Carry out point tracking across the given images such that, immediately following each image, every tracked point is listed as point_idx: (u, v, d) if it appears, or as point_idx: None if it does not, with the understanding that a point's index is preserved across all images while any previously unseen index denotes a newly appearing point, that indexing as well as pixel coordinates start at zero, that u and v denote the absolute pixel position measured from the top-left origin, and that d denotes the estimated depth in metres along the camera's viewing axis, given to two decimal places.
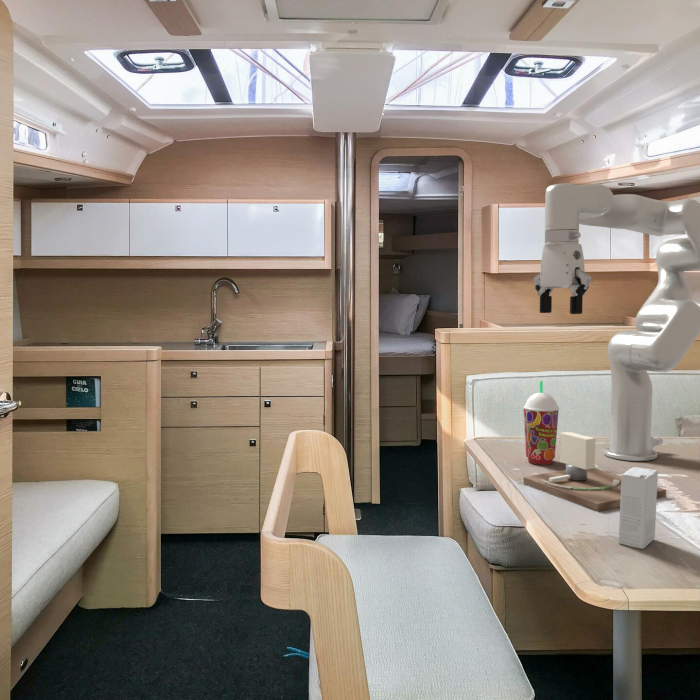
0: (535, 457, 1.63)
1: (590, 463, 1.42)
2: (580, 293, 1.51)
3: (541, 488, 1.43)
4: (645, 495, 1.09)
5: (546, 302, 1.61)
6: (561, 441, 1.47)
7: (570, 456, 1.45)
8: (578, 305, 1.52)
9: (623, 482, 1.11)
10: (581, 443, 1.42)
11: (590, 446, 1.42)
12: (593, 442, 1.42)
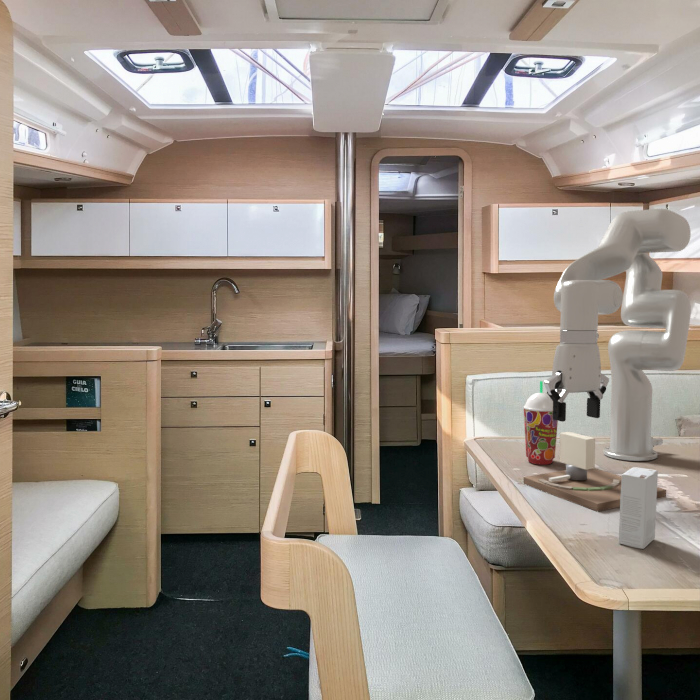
0: (535, 457, 1.63)
1: (590, 463, 1.42)
2: None
3: (541, 488, 1.43)
4: (645, 495, 1.09)
5: None
6: (561, 441, 1.47)
7: (570, 456, 1.45)
8: None
9: (623, 482, 1.11)
10: (581, 443, 1.42)
11: (590, 446, 1.42)
12: (593, 442, 1.42)
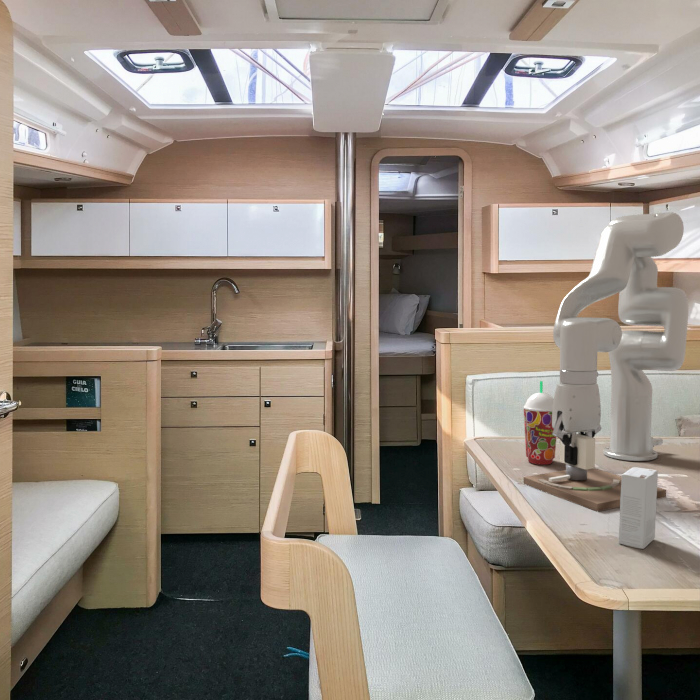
0: (535, 457, 1.63)
1: (590, 463, 1.42)
2: None
3: (541, 488, 1.43)
4: (645, 495, 1.09)
5: None
6: (561, 441, 1.47)
7: None
8: None
9: (623, 482, 1.11)
10: (581, 443, 1.42)
11: (590, 446, 1.42)
12: (593, 442, 1.42)
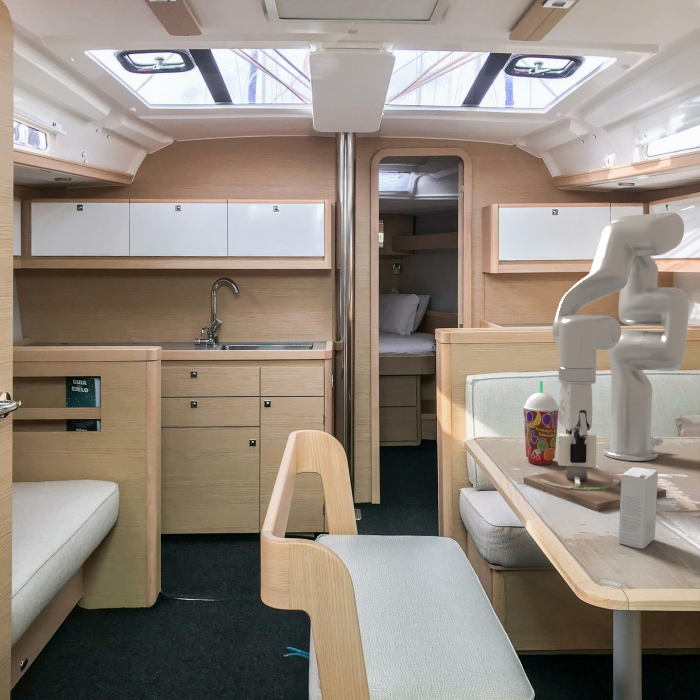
0: (535, 457, 1.63)
1: None
2: None
3: (541, 488, 1.43)
4: (645, 495, 1.09)
5: None
6: (561, 444, 1.45)
7: None
8: None
9: (623, 482, 1.11)
10: (590, 442, 1.43)
11: None
12: None
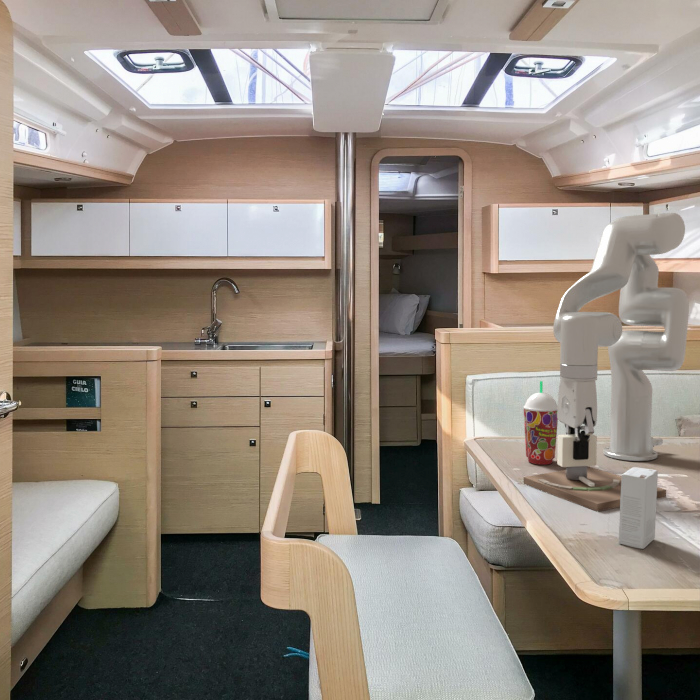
0: (535, 457, 1.63)
1: None
2: None
3: (541, 488, 1.43)
4: (645, 495, 1.09)
5: None
6: (565, 445, 1.43)
7: None
8: None
9: (623, 482, 1.11)
10: (591, 441, 1.44)
11: None
12: None
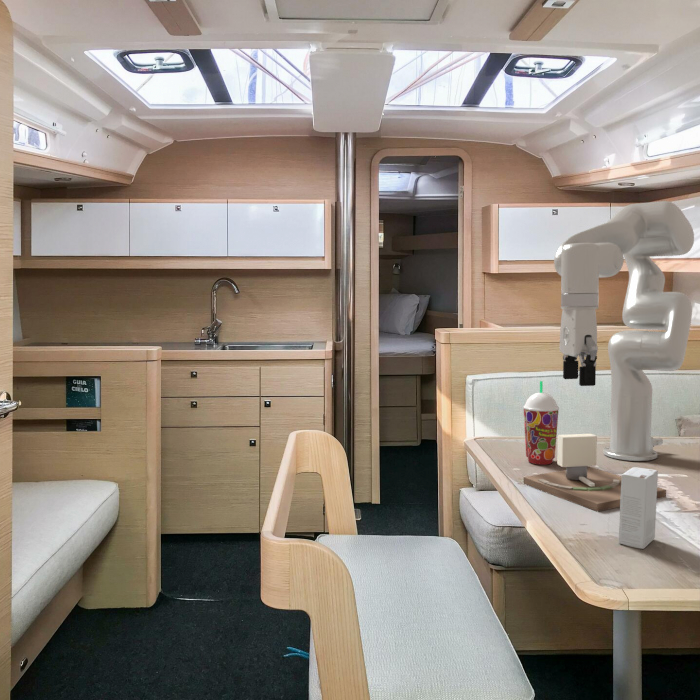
0: (535, 457, 1.63)
1: None
2: None
3: (541, 488, 1.43)
4: (645, 495, 1.09)
5: None
6: (565, 445, 1.43)
7: (577, 457, 1.44)
8: None
9: (623, 482, 1.11)
10: (591, 441, 1.44)
11: None
12: None
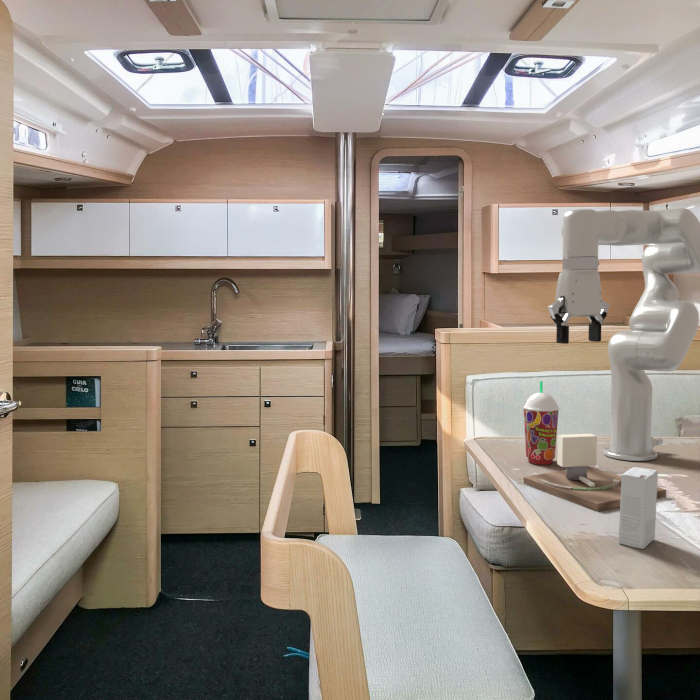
0: (535, 457, 1.63)
1: None
2: None
3: (541, 488, 1.43)
4: (645, 495, 1.09)
5: None
6: (565, 445, 1.43)
7: (577, 457, 1.44)
8: None
9: (623, 482, 1.11)
10: (591, 441, 1.44)
11: None
12: None
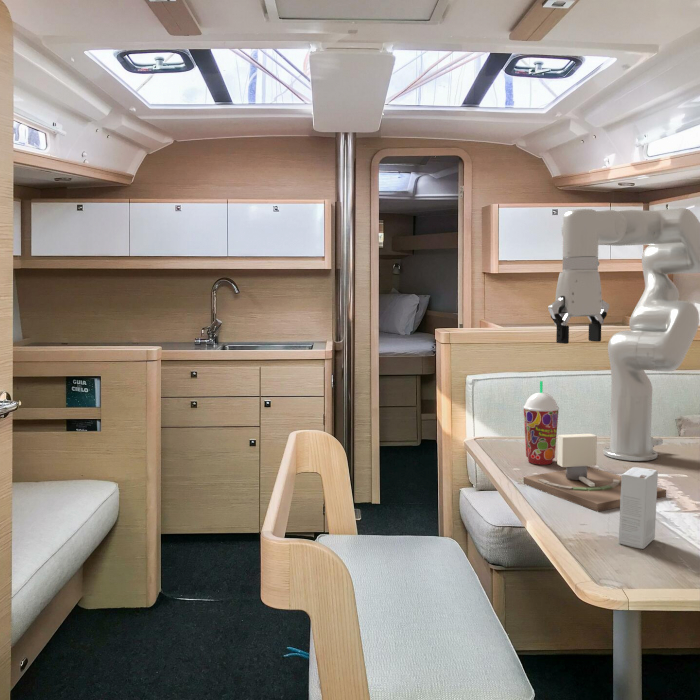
0: (535, 457, 1.63)
1: None
2: None
3: (541, 488, 1.43)
4: (645, 495, 1.09)
5: None
6: (565, 445, 1.43)
7: (577, 457, 1.44)
8: None
9: (623, 482, 1.11)
10: (591, 441, 1.44)
11: None
12: None
